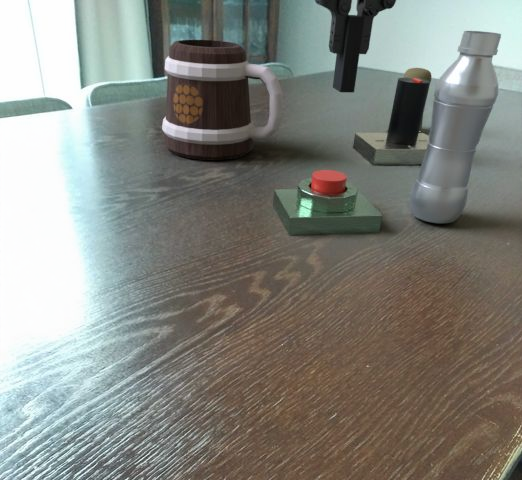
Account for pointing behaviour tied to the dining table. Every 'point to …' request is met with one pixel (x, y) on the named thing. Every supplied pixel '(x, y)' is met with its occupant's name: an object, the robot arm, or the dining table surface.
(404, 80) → the black battery
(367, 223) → the button box
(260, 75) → the mug
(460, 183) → the plastic bottle
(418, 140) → the base
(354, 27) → the robot arm
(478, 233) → the dining table surface
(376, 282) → the dining table surface
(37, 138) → the dining table surface
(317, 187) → the button
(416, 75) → the cork
